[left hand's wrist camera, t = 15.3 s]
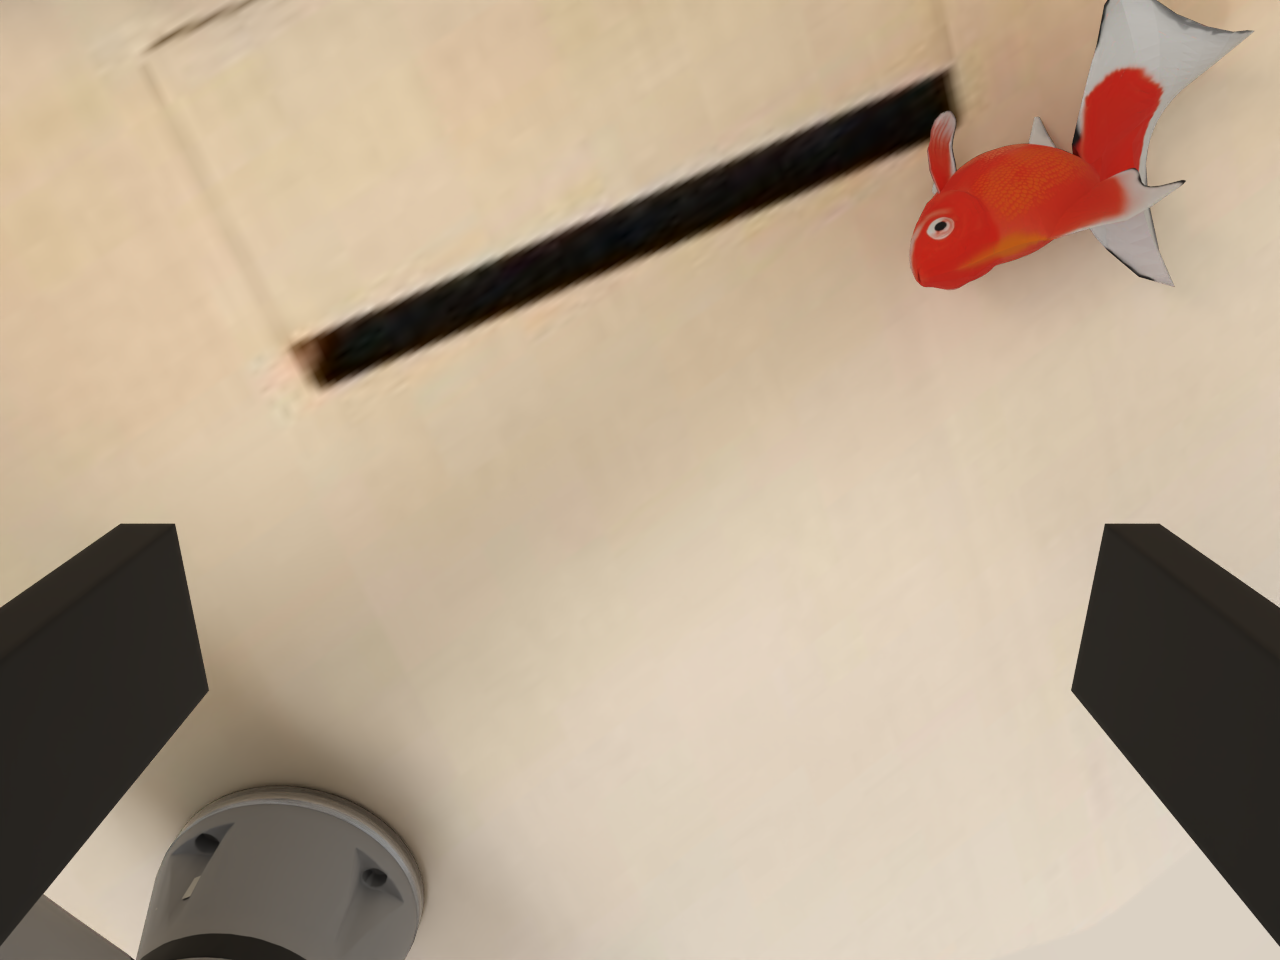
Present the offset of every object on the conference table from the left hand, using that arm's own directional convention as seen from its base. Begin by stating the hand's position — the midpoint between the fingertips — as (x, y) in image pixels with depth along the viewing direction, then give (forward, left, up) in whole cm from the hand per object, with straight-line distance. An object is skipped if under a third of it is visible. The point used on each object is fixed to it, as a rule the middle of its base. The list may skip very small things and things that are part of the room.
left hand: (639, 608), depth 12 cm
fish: (+11, -15, -30) cm, 35 cm away
